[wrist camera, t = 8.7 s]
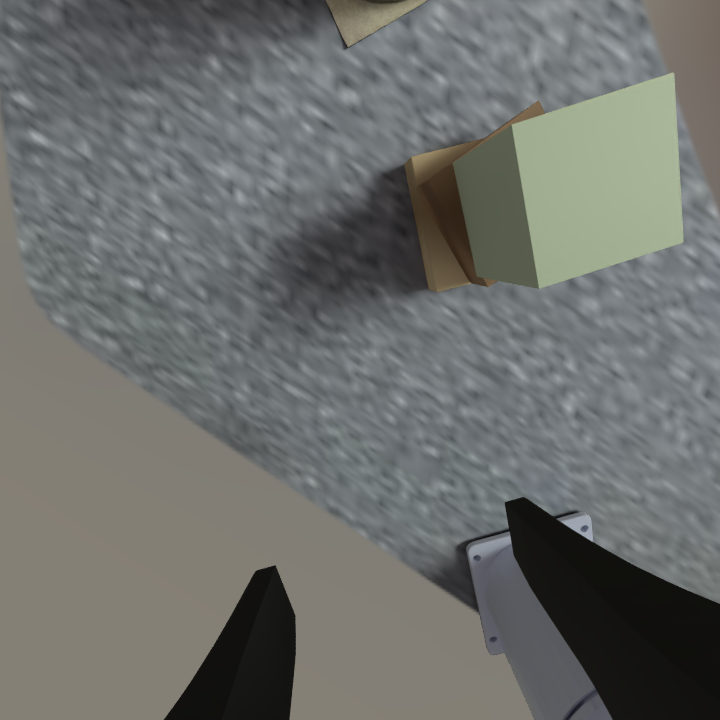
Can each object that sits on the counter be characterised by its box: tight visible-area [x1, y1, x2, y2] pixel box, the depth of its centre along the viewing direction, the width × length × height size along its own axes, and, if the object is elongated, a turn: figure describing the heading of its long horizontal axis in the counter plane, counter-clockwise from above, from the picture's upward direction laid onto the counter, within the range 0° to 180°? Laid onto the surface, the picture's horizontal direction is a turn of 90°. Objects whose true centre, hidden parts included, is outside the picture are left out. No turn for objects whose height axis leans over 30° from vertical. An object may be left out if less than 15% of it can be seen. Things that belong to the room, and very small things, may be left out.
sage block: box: [453, 73, 683, 289], centre depth 13 cm, size 4×4×5 cm
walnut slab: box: [415, 101, 545, 287], centre depth 17 cm, size 5×5×2 cm
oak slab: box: [404, 138, 485, 292], centre depth 19 cm, size 6×6×2 cm
